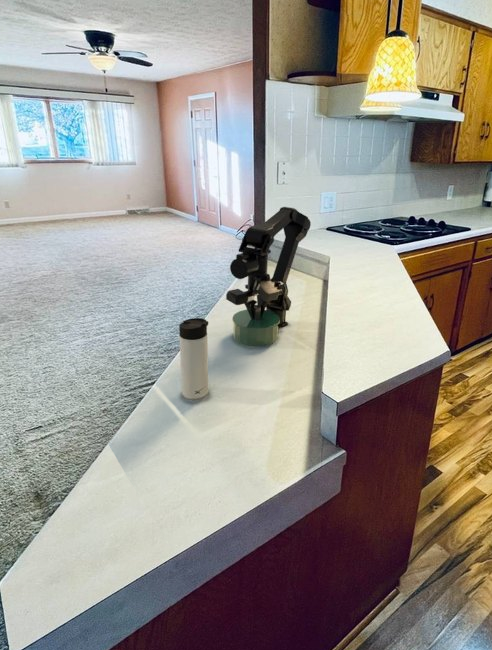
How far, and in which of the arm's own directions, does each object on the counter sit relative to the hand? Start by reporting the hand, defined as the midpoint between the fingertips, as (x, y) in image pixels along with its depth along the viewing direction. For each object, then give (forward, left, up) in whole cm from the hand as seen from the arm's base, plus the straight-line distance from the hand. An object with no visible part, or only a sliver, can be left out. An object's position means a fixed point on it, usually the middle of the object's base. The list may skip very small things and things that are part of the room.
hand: (256, 317), depth 128 cm
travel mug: (+30, +17, -7) cm, 35 cm away
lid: (0, 0, -1) cm, 1 cm away
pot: (0, 0, -7) cm, 7 cm away
